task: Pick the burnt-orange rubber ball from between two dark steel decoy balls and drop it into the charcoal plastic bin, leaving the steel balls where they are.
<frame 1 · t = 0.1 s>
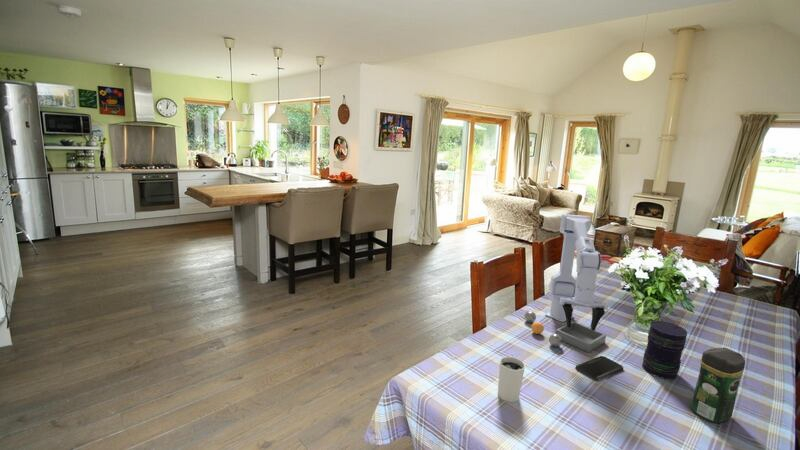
hand: (580, 328, 129), 10 cm above the table, tool pointing down, fingers open, 7 cm apart
storage jar: (659, 370, 126), on the table
orange ball: (537, 327, 146), point 2 cm above the table
white cup: (508, 395, 109), on the table
coffee jar: (709, 413, 107), on the table
steel ball b: (530, 316, 155), point 2 cm above the table
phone: (598, 370, 125), on the table
steel ball a: (555, 340, 137), point 2 cm above the table
bin: (579, 340, 143), on the table
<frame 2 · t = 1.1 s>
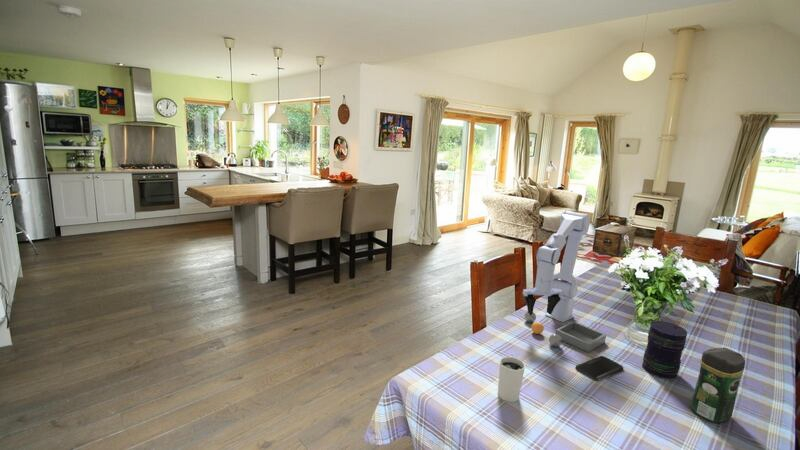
hand: (539, 313, 145), 8 cm above the table, tool pointing down, fingers open, 7 cm apart
nothing on the table moved.
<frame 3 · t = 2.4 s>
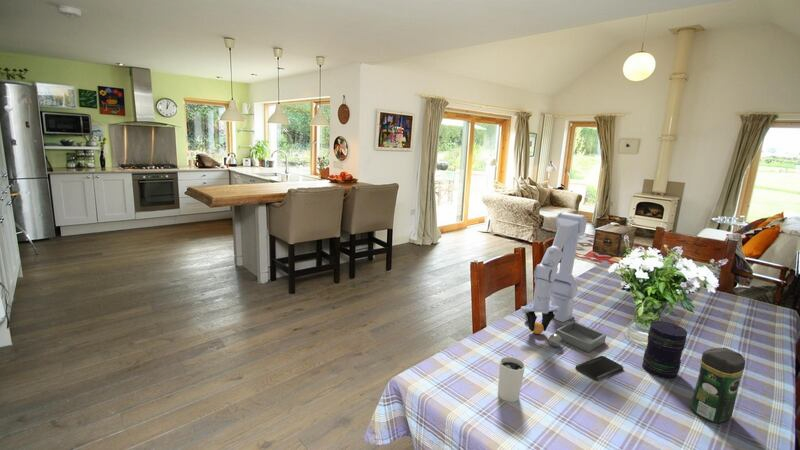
hand: (537, 329, 146), 1 cm above the table, tool pointing down, fingers closed on orange ball, 4 cm apart
orange ball: (537, 327, 146), point 2 cm above the table, touching gripper
everything else where it was.
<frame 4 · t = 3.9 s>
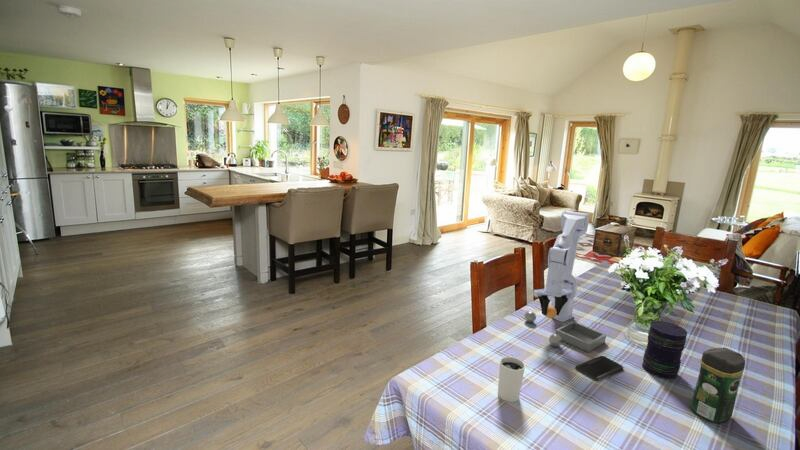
hand: (550, 314, 144), 8 cm above the table, tool pointing down, fingers closed on orange ball, 4 cm apart
orange ball: (550, 312, 144), point 9 cm above the table, touching gripper
everything else where it was.
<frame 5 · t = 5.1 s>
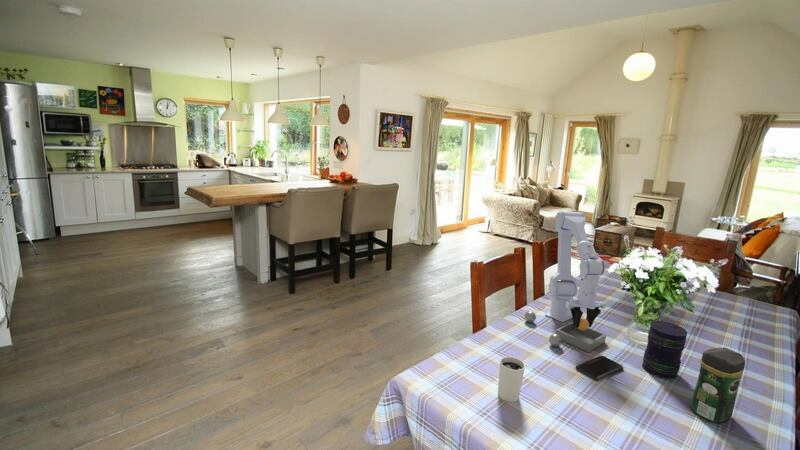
hand: (582, 326, 142), 6 cm above the table, tool pointing down, fingers closed on orange ball, 4 cm apart
orange ball: (582, 324, 141), point 6 cm above the table, touching gripper
everything else where it was.
when the fingers open (4 cm above the table, at t = 5.8 s): orange ball drops 2 cm, resting on bin.
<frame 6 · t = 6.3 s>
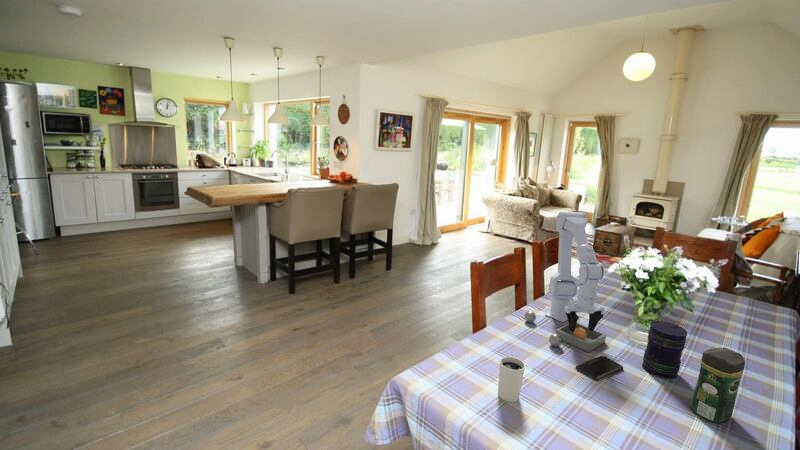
hand: (581, 330, 142), 4 cm above the table, tool pointing down, fingers open, 7 cm apart
orange ball: (579, 333, 142), point 3 cm above the table, tilted 10°, touching bin
everything else where it was.
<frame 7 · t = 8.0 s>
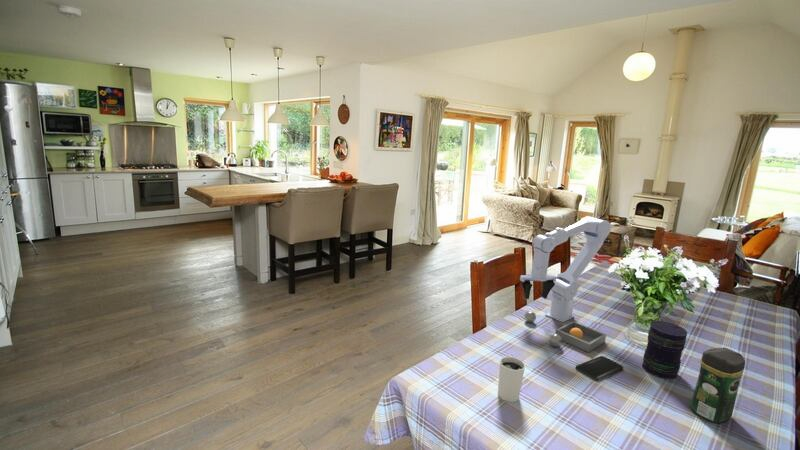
hand: (535, 297, 155), 9 cm above the table, tool pointing down, fingers open, 7 cm apart
orange ball: (576, 333, 142), point 3 cm above the table, tilted 50°, touching bin
everything else where it was.
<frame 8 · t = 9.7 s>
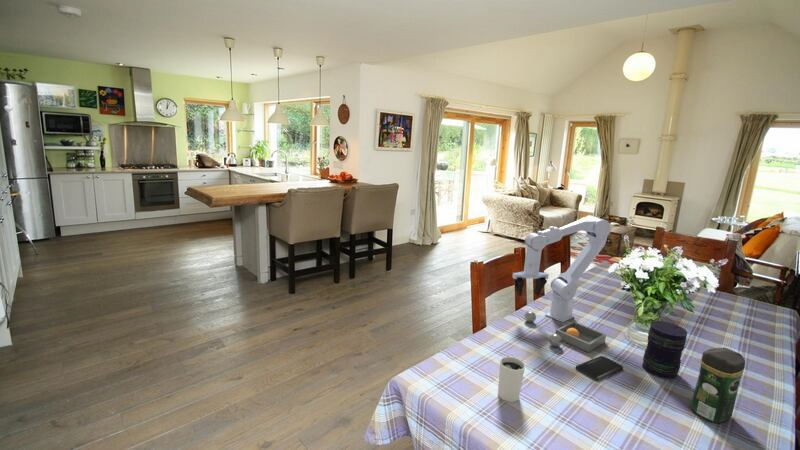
hand: (528, 295, 158), 9 cm above the table, tool pointing down, fingers open, 7 cm apart
orange ball: (572, 334, 142), point 3 cm above the table, tilted 89°, touching bin
everything else where it was.
at the end: orange ball inside the target area on the bin (3.4 cm from its centre), point 2.6 cm above the bin's base; the gripper is holding nothing; steel ball a moved 0.0 cm from its start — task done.
